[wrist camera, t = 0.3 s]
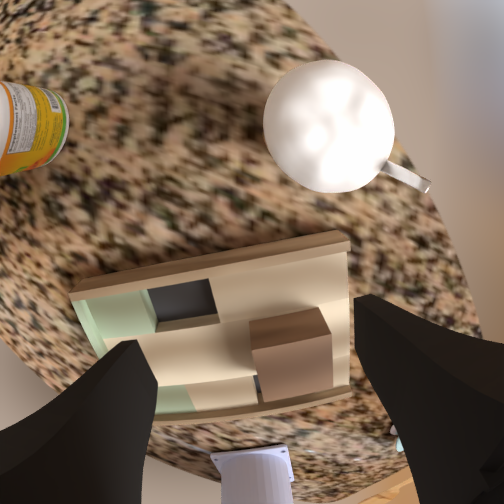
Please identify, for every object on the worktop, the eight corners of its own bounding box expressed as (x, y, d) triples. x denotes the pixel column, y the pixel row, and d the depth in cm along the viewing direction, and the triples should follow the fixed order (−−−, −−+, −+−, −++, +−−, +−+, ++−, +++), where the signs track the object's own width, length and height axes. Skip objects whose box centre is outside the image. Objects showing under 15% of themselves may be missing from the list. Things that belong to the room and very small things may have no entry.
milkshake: (310, 194, 18) (388, 248, 8) (235, 144, 17) (235, 141, 7) (351, 134, 17) (460, 134, 7) (278, 82, 15) (329, 15, 6)
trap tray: (343, 377, 23) (351, 396, 21) (144, 407, 23) (139, 425, 21) (337, 229, 19) (349, 240, 16) (82, 278, 19) (67, 293, 17)
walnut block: (322, 359, 20) (333, 387, 17) (260, 371, 20) (264, 402, 18) (318, 307, 19) (331, 333, 16) (248, 321, 19) (251, 350, 16)
